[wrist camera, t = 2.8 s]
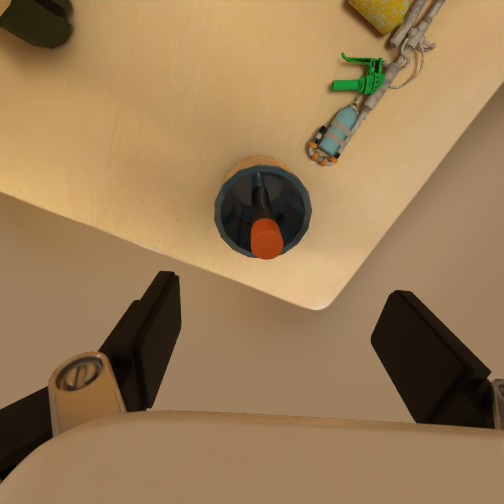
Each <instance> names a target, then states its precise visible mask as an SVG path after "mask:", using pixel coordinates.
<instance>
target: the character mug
mask: <svg viewBox="0 0 504 504" xmlns="http://www.w3.org/2000/svg"><path fill="white" fill-rule="evenodd" d="M58 5H60V6H61V7H63V8H65V9H67V10H68V11H70V5H69V2H68V0H0V27H2V28H4V29H5V30H7V31H9V32H10V33H12V34H14V35H15V36H17V37H19V38H21V39H23V40H24V41H26V42H28V43H30V44H32V45H34V46H39V47H46V48H54V47H56V46H57V45H59V44H61V43H63V42H64V41H65V39H66V37H67V35H68V33H69V31H70V29H71V25H70V23H68V22H67V21H65V20H63V19H62V18H60V17H59V16H60V9H59V6H58Z"/></svg>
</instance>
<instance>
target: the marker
mask: <svg viewBox="0 0 504 504" xmlns="http://www.w3.org/2000/svg"><path fill="white" fill-rule="evenodd" d="M251 199H252V228H251V249H252V251H253V253H254V254H255V255H256V256H257V257H259V258H261V259H273V258H275V257H277V256H278V255H279V254H280V253H281V251H282V249H283V239H282V236H281V233H280V229H279V226H278V225H277V223H276V220H275V217H274V213H273V210H272V206H271V203H270V199H269V196H268V192H267V190H266V189H265V188H264V187H261V186H259V187H256V188H254V189H253V191H252V194H251Z"/></svg>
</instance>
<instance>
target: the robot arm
mask: <svg viewBox="0 0 504 504" xmlns="http://www.w3.org/2000/svg"><path fill="white" fill-rule="evenodd" d="M180 329H181V305H180V285H179V276H178V275H175V273H174V272H171V271H160V272H159V273H158V274H157V276H156V277H155V279H154V280H153V282H152V283H151V285H150V286H149V287H148V289H147V291H146V292H145V293H144V295H143V297H142V298H141V299H140V300H135V301H133V303H132V304H131V305H130V307H129V308H128V309H127V311H126V312H125V314H124V315H123V317H122V318H121V319H120V321H119V322H118V323H117V325H116V327H115V328H114V329H113V330H112V332H111V333H110V335H109V336H108V338H107V339H106V340H105V342H104V343H103V345H102V346H101V348H100V349H99V350H98V352H94V351H93V352H85V353H82V354H79V355H76V356H74V357H72V358H70V359H68V360H66V361H65V362H64V363H62V364H61V365H59V367H58V368H57V369H56V370H55V371H54V372H53V373H52V376H51V377H50V379H49V383H48V386H47V387H45V388H43V389H41V390H39V391H37V392H35V393H33V394H31V395H29V396H27V397H25V398H23V399H21V400H18V401H17V402H15V403H13V404H11V405H8V406H6V407H4V408H3V409H1V410H0V504H504V379H495V380H494V381H492V382H490V381H489V380H488V379H487V377H488V376H489V375H490V373H491V371H490V370H489V369H488V368H487V367H486V366H485V365H484V364H483V363H482V362H481V361H480V360H479V359H478V358H477V357H476V356H475V355H474V354H473V353H472V352H471V351H470V350H469V349H468V348H467V347H466V346H465V345H464V344H463V343H462V342H461V341H460V340H459V339H458V338H457V337H456V336H455V335H454V334H453V333H452V332H451V331H450V330H449V329H448V328H447V327H446V326H445V325H444V324H443V323H442V322H441V321H440V320H439V319H438V318H437V317H436V316H435V315H434V314H433V313H432V312H431V311H430V310H429V309H428V308H427V307H426V306H425V305H424V304H423V303H422V302H421V301H420V300H419V299H418V298H417V297H416V296H415V295H414V294H413V293H412V292H410V291H402V290H396V291H394V292H393V293H391V294H390V295H389V297H388V299H387V301H386V304H385V306H384V308H383V311H382V313H381V315H380V318H379V320H378V322H377V324H376V327H375V329H374V332H373V334H372V336H371V344H372V346H373V348H374V350H375V351H376V353H377V355H378V357H379V359H380V360H381V362H382V364H383V366H384V367H385V369H386V371H387V373H388V375H389V376H390V378H391V380H392V382H393V384H394V385H395V387H396V389H397V391H398V392H399V394H400V396H401V398H402V400H403V401H404V403H405V405H406V407H407V408H408V410H409V412H410V414H411V416H412V417H413V419H414V420H415V422H416V423H402V422H387V421H371V420H353V419H336V418H320V417H302V416H284V415H265V414H264V415H263V414H246V413H227V412H201V411H172V410H170V411H146V409H147V408H152V406H153V404H154V401H155V398H156V395H157V393H158V390H159V387H160V385H161V382H162V379H163V376H164V374H165V371H166V368H167V366H168V363H169V360H170V357H171V355H172V352H173V349H174V346H175V344H176V341H177V338H178V335H179V333H180Z"/></svg>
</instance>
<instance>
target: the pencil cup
mask: <svg viewBox="0 0 504 504" xmlns="http://www.w3.org/2000/svg"><path fill="white" fill-rule="evenodd" d="M259 186H261V187H264V188H265V189H266V190H267V192H268V196H269V199H270V203H271V206H272V210H273V213H274V217H275V220H276V223H277V225H278V226H279V229H280V233H281V236H282V239H283V249H282V251H281V253H280V254H279V255H282V254H284V253H286V252H287V251H288V250H290V249H291V248H293V247H294V246H296V245H297V244H298V243H299V241H300V240H301V239H302V237H303V236H304V234H305V233H306V231H307V230H308V227H309V222H310V218H311V213H312V208H311V203H310V198H309V193H308V191H307V190H306V188H305V187H304V185H303V184H302V183H301V181H300V180H299V178H298V177H297V176H296V175H295V174H294V173H293V172H292V171H291V170H290V169H289V168H288V167H287V166H286V165H284V164H283V163H281V162H280V161H278V160H277V159H275V158H273V157H269V156H264V155H256V156H251V157H248V158H245V159H243V160H241V161H240V162H239V163H237V164H236V165H235V166H234V167H233V168H232V169H231V170H230V172H229V174H228V175H227V177H226V179H225V181H224V183H223V185H222V188H221V190H220V192H219V194H218V196H217V198H216V200H215V213H214V220H215V223H216V226H217V229H218V231H219V234H220V236H221V238H222V239H223V240H224V241H225V242H226V243H227V244H228V245H229V246H230V247H231V248H232V249H233V250H235V251H237V252H239V253H241V254H243V255H245V256H247V257H252V258H259V257H257V256H256V255H255V254H254V253H253V251H252V249H251V228H252V199H251V194H252V191H253V189H254V188H256V187H259Z"/></svg>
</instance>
